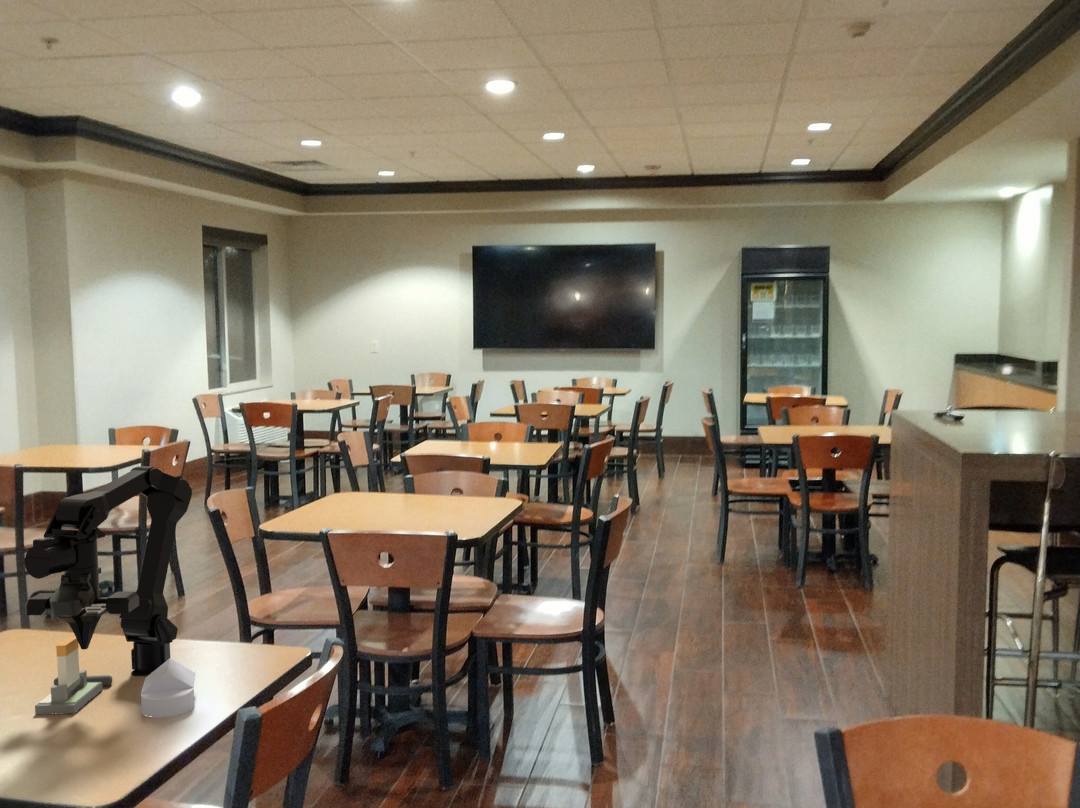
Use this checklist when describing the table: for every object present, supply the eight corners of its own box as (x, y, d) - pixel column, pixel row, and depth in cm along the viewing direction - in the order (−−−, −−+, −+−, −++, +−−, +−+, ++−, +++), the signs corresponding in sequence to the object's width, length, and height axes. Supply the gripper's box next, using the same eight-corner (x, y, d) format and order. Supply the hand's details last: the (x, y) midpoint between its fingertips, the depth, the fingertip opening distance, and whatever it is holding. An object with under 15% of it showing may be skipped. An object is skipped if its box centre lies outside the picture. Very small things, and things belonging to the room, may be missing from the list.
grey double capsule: (115, 681, 197) (115, 672, 197) (108, 687, 193) (108, 678, 193) (60, 681, 196) (59, 673, 196) (52, 688, 193) (51, 678, 193)
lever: (81, 686, 188) (79, 636, 188) (68, 696, 183) (65, 645, 182) (71, 686, 188) (68, 636, 188) (57, 697, 183) (54, 646, 182)
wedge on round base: (145, 695, 189) (139, 720, 176) (144, 660, 188) (137, 683, 176) (196, 689, 191) (193, 714, 179) (194, 655, 191) (191, 677, 178)
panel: (102, 690, 192) (101, 667, 191) (74, 713, 180) (73, 690, 179) (65, 690, 192) (64, 668, 191) (35, 714, 180) (34, 690, 179)
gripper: (7, 577, 176) (11, 664, 177) (114, 575, 176) (118, 662, 177) (38, 562, 187) (41, 644, 188) (138, 561, 187) (141, 642, 188)
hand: (84, 648), depth 185 cm, fingers closed
